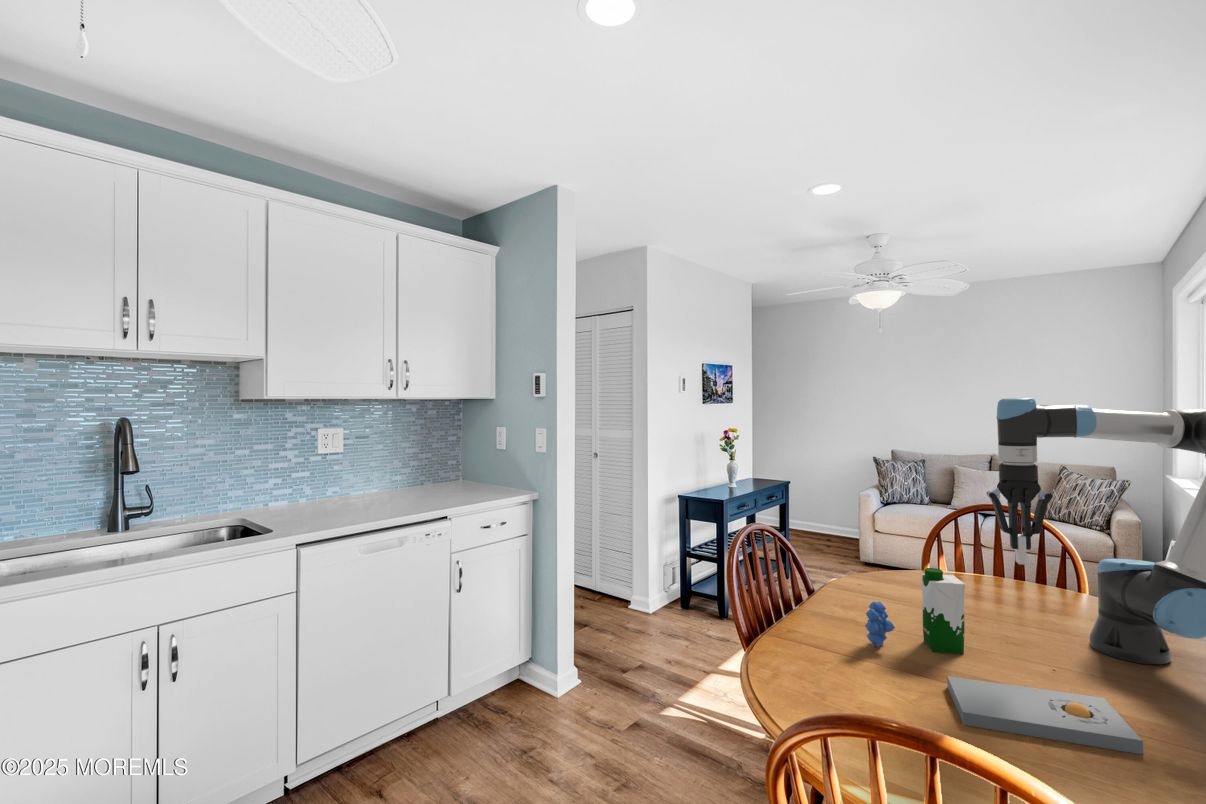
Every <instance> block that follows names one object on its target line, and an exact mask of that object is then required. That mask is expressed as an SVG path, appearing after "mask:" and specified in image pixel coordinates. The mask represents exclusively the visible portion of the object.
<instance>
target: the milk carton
mask: <svg viewBox="0 0 1206 804" xmlns="http://www.w3.org/2000/svg"><path fill="white" fill-rule="evenodd" d="M943 572H944V571H943V570H942V569H939V568H933V567H927V568H924V573H921V575H920V576H921V577H920V578H921V588H922V589H921V591H922V592H921V593H922V634H923V635H922V637H923V642H924V643H925V645H926V646H927V648H929V649H930V651H931V652H932V653H937V654H952V655H963V656H964V654H965V590H966V589H965V588H966V583H965V582H963V581H961V580H960V579H959V578H957V576H955V575H953V574H951V575H950V574H944V573H943Z"/></svg>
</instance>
